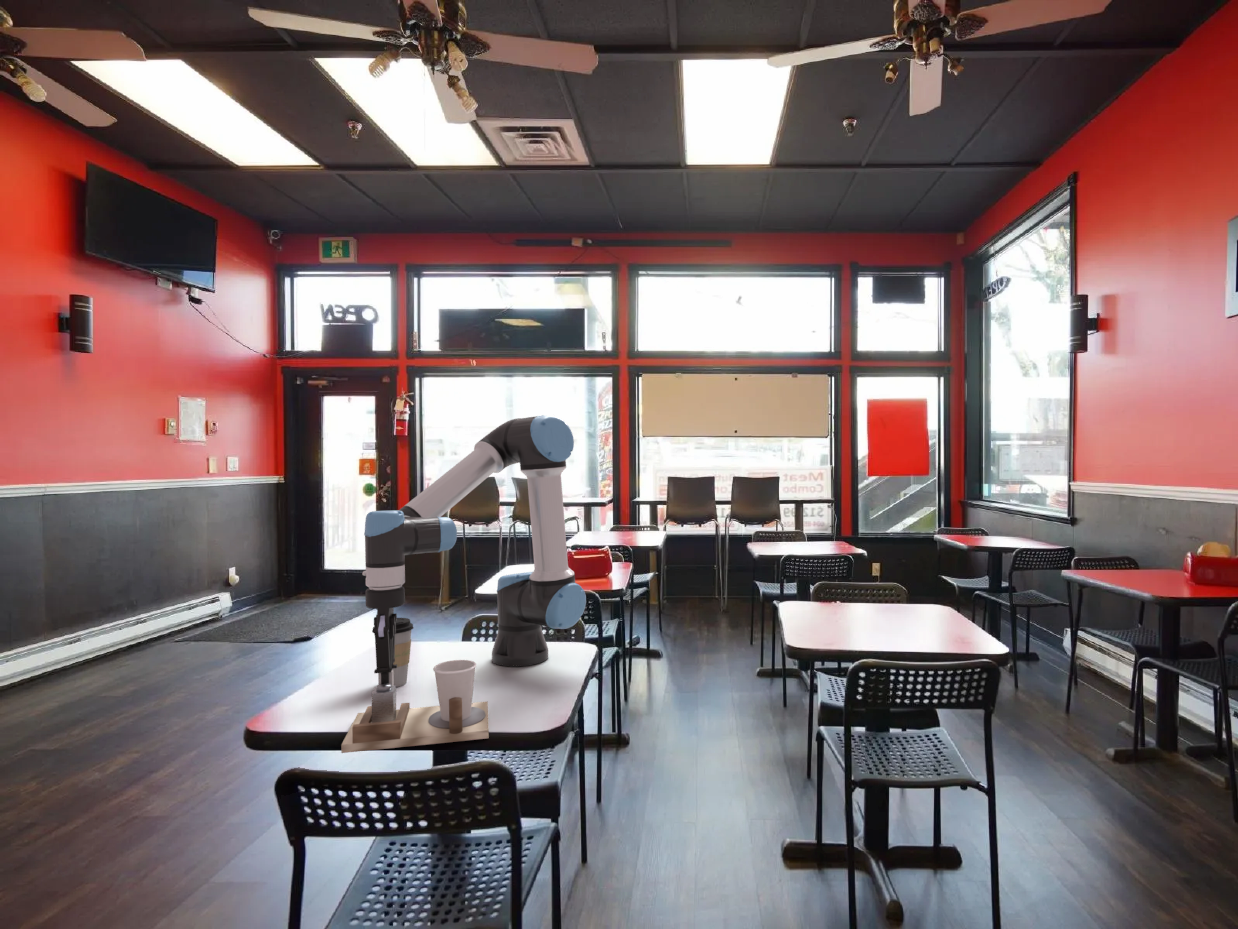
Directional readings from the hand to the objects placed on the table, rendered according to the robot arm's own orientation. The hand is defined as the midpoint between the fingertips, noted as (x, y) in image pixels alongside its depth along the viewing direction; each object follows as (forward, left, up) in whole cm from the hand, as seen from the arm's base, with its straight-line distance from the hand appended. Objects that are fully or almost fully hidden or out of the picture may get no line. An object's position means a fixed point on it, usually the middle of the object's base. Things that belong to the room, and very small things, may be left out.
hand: (386, 703), depth 130 cm
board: (-7, +6, -4) cm, 10 cm away
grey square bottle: (0, +4, -2) cm, 4 cm away
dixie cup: (-14, +5, -2) cm, 15 cm away
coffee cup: (+2, -25, -4) cm, 26 cm away
